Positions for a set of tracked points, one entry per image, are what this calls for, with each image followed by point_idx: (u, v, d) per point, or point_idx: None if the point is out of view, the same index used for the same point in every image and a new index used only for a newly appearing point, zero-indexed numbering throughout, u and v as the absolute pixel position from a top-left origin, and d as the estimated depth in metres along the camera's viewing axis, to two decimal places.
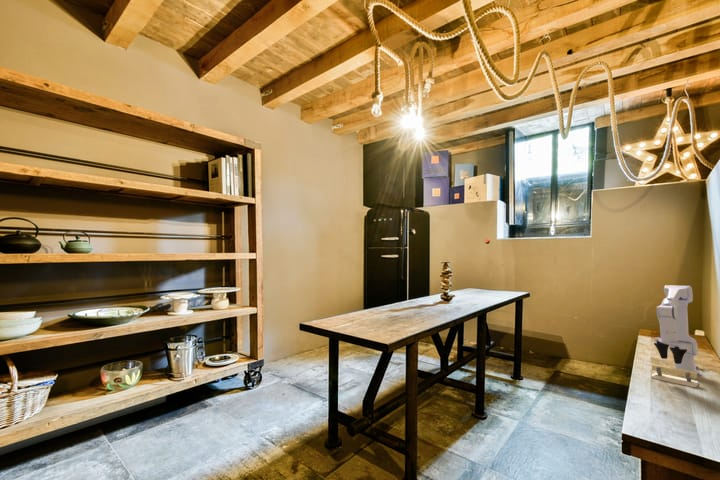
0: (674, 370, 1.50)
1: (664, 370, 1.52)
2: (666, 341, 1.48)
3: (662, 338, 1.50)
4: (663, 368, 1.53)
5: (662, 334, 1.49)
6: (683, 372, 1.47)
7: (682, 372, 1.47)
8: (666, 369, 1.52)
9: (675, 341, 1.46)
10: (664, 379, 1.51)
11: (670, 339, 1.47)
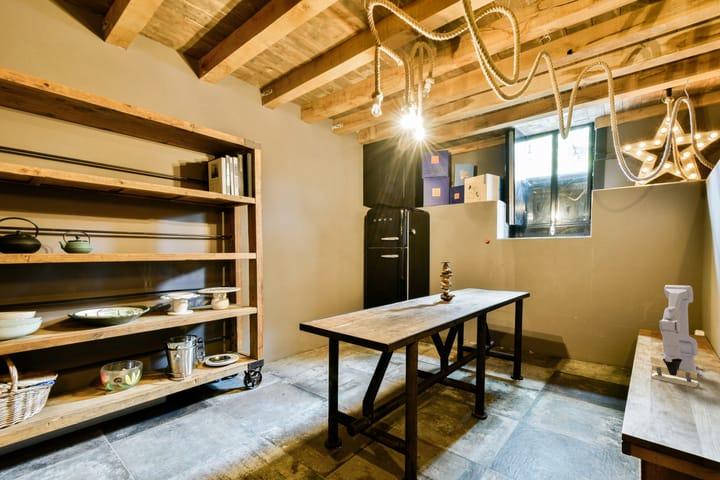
0: None
1: (664, 370, 1.52)
2: (664, 353, 1.52)
3: None
4: (663, 368, 1.53)
5: None
6: (683, 372, 1.47)
7: (682, 372, 1.47)
8: (666, 369, 1.52)
9: (672, 355, 1.49)
10: (664, 379, 1.51)
11: (666, 352, 1.51)
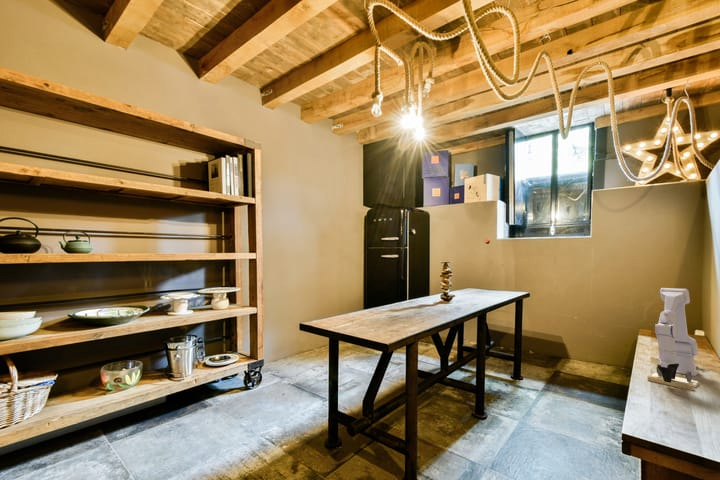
0: None
1: (660, 382, 1.48)
2: (659, 359, 1.48)
3: None
4: (659, 380, 1.48)
5: None
6: (680, 384, 1.42)
7: (679, 384, 1.42)
8: (662, 381, 1.47)
9: (667, 360, 1.45)
10: None
11: (662, 357, 1.46)
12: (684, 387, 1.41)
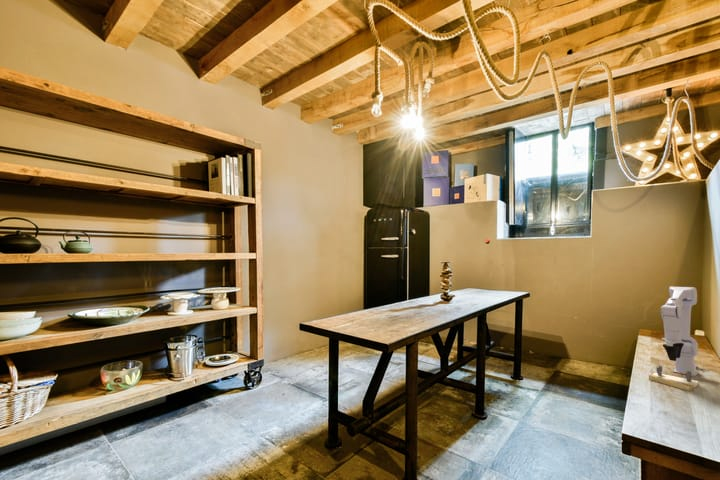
0: (669, 382, 1.45)
1: (660, 381, 1.48)
2: (665, 338, 1.55)
3: None
4: (659, 379, 1.48)
5: None
6: (678, 384, 1.42)
7: (677, 384, 1.42)
8: (662, 380, 1.47)
9: (673, 339, 1.52)
10: None
11: (667, 337, 1.54)
12: (682, 387, 1.41)
